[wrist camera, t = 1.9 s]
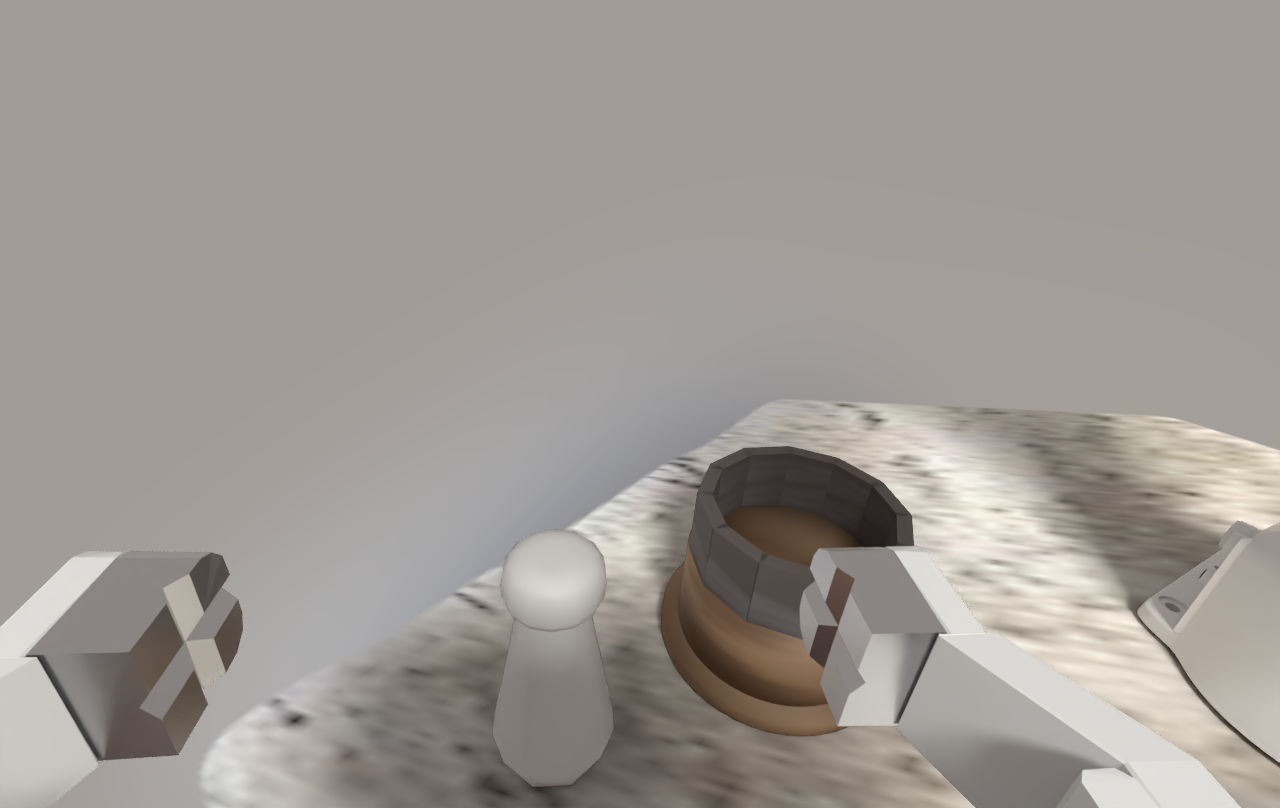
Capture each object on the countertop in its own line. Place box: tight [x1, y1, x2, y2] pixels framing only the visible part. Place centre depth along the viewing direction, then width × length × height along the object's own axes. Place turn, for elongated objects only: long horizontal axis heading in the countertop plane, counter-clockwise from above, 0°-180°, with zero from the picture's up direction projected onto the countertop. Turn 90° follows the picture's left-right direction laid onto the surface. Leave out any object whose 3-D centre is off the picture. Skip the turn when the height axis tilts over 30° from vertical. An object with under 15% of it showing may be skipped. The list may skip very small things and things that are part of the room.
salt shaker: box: [492, 529, 614, 787], centre depth 28 cm, size 6×6×13 cm
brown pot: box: [661, 446, 914, 736], centre depth 36 cm, size 14×14×10 cm
